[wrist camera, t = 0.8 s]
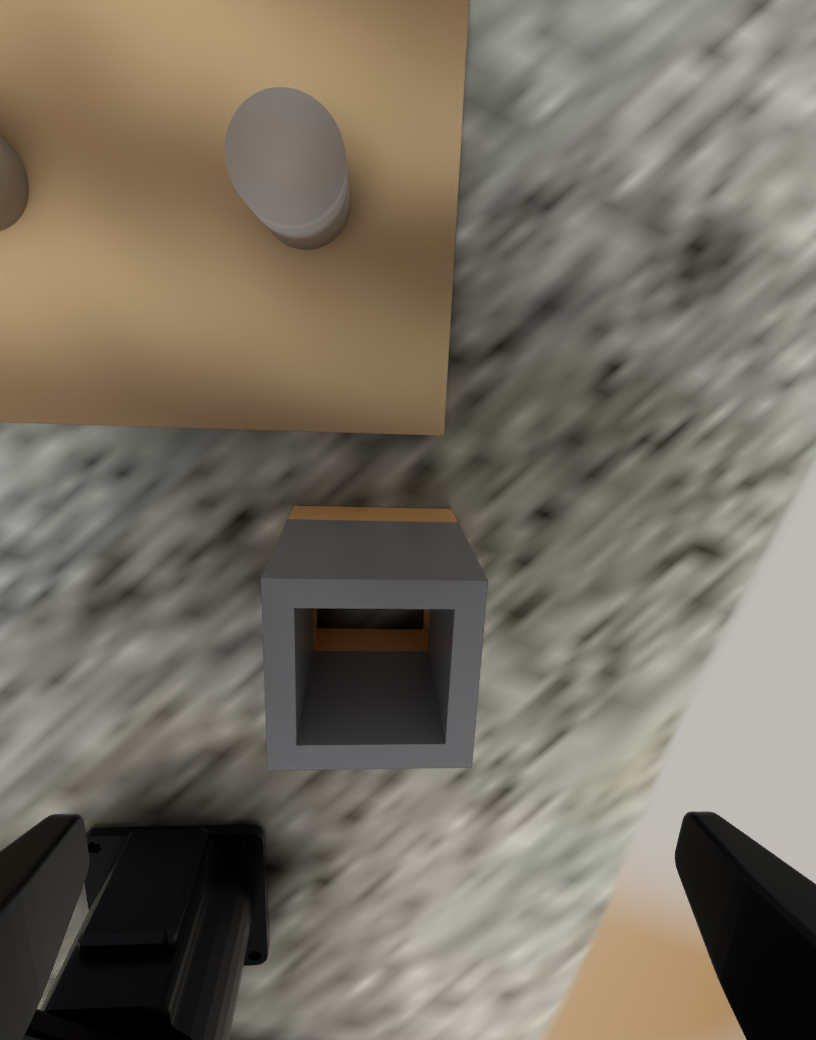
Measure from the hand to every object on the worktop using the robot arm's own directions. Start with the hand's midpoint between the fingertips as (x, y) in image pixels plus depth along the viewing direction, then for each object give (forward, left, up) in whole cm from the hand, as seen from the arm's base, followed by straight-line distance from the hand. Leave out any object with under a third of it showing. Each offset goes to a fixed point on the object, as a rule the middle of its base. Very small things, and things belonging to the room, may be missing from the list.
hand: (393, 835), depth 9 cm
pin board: (+11, +6, -11) cm, 16 cm away
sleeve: (0, 0, -11) cm, 11 cm away
